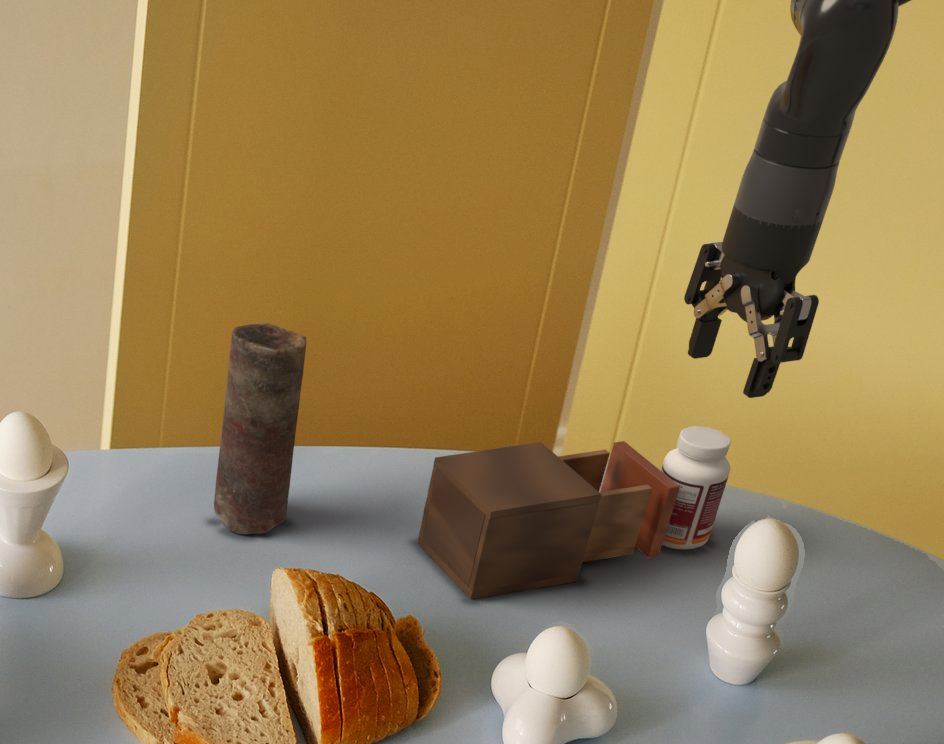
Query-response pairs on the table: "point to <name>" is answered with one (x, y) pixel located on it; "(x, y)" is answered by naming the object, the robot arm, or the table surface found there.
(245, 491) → the brown clay vase
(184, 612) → the table surface
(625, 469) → the drawer
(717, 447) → the pill bottle
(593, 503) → the cabinet
